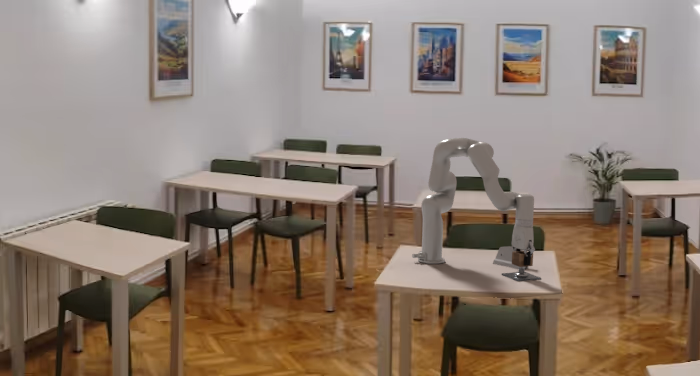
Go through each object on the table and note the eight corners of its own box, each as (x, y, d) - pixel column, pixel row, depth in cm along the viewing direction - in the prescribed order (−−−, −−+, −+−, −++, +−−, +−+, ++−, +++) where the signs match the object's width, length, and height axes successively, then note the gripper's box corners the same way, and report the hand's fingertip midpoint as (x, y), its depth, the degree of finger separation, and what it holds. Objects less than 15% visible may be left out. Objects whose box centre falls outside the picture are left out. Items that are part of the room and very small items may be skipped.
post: (517, 281, 339) (518, 262, 338) (501, 274, 350) (502, 257, 349) (540, 279, 344) (541, 261, 343) (524, 272, 355) (525, 255, 354)
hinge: (492, 263, 372) (497, 242, 373) (497, 265, 375) (502, 245, 376) (522, 270, 360) (527, 248, 361) (527, 272, 364) (533, 251, 365)
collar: (520, 267, 342) (520, 254, 342) (511, 263, 348) (512, 251, 347) (532, 265, 345) (533, 253, 344) (523, 262, 351) (524, 250, 350)
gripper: (505, 220, 350) (503, 259, 353) (528, 226, 335) (526, 268, 337) (519, 219, 353) (517, 258, 356) (543, 225, 338) (541, 267, 340)
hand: (522, 263), depth 346 cm, fingers closed on collar, 6 cm apart
